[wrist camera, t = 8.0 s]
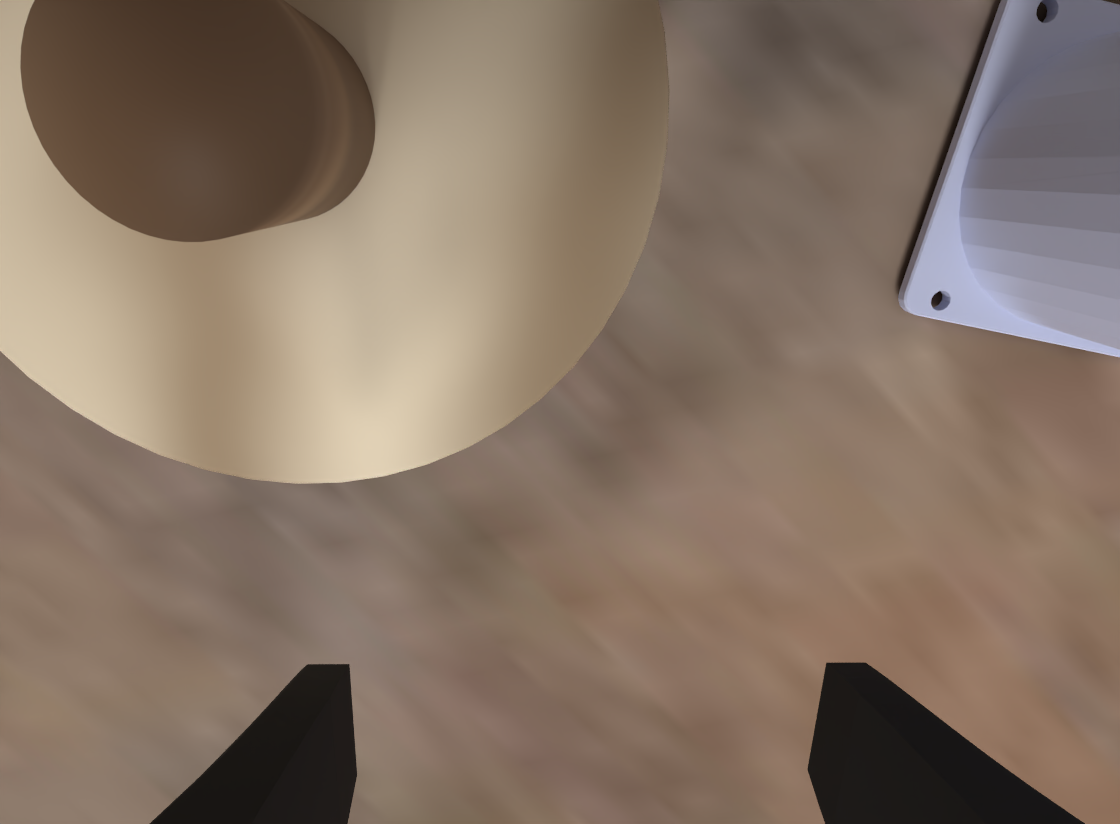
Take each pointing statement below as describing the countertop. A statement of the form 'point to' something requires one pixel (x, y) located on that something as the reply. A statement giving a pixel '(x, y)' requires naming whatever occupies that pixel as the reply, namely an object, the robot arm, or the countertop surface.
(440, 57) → the lid
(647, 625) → the countertop surface
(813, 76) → the countertop surface
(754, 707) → the countertop surface
